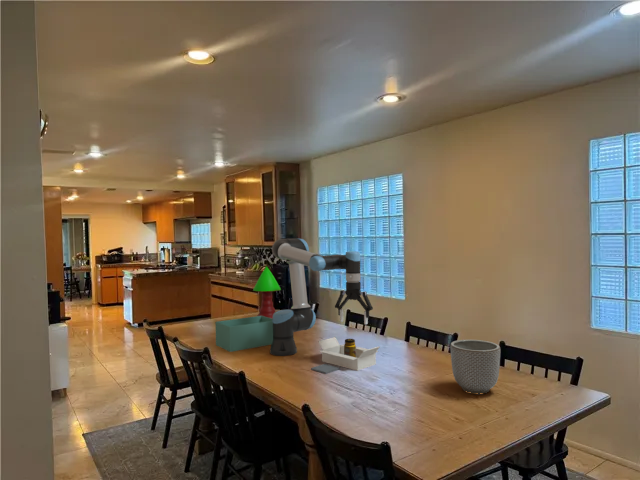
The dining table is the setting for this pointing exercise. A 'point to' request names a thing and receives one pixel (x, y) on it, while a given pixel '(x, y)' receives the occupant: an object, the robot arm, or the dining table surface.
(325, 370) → the coaster
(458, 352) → the planter
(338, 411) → the dining table surface
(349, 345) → the condiment
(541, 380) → the dining table surface
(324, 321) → the dining table surface
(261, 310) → the table lamp
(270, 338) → the box
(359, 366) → the carton
